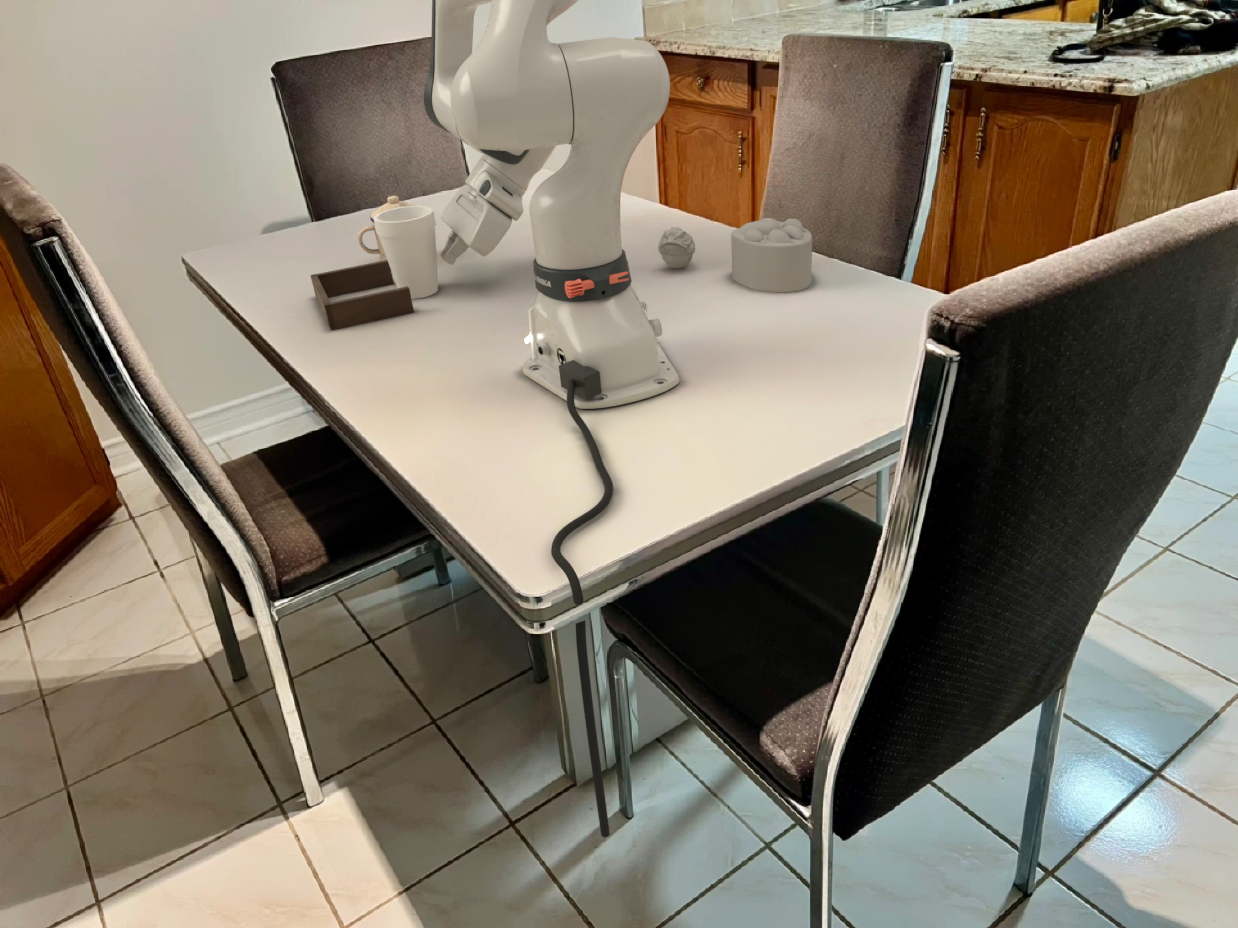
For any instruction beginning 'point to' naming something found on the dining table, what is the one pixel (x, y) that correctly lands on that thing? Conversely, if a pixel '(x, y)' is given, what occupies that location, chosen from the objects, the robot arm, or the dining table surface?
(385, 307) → the bay
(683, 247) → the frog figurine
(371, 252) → the teacup with lid
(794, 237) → the lumpy-topped squat cylinder
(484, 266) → the dining table surface
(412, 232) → the foam cup
